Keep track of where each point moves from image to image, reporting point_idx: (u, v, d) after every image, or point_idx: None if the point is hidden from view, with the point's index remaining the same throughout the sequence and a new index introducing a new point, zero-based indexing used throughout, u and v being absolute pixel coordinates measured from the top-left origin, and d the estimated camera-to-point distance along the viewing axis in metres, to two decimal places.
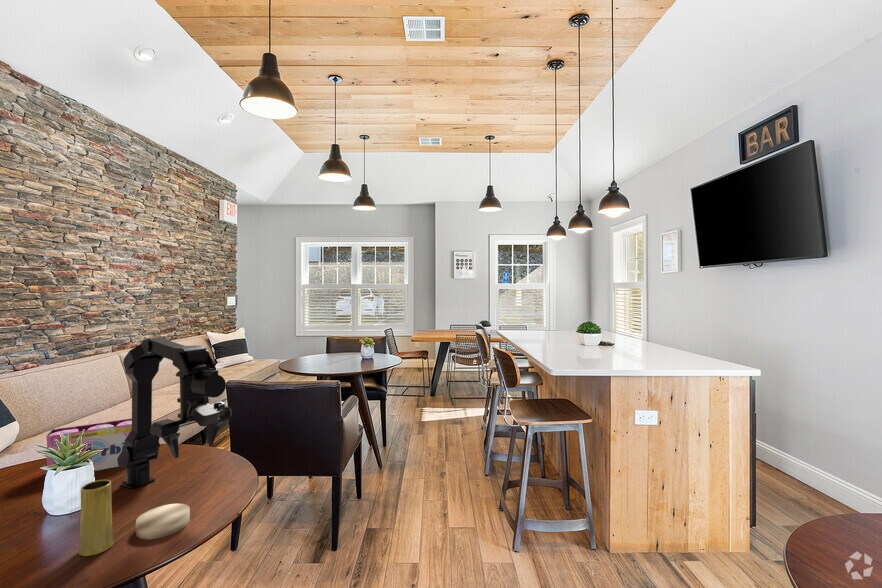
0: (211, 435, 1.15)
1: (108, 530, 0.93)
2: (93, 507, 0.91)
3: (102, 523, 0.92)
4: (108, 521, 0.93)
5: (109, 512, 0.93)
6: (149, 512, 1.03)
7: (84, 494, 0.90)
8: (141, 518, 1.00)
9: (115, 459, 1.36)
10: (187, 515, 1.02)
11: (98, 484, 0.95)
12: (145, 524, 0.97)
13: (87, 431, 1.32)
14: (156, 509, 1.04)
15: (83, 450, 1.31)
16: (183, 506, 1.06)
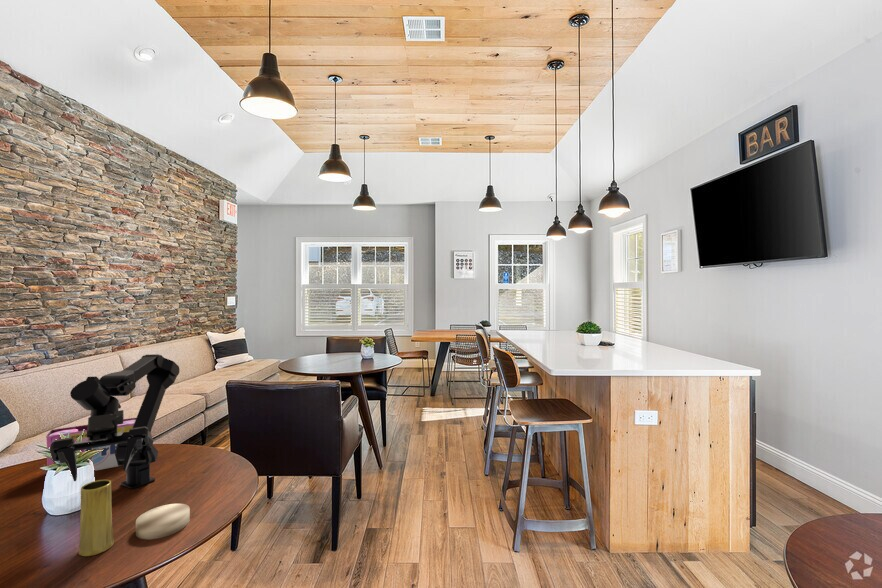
0: (124, 458, 1.03)
1: (108, 530, 0.93)
2: (93, 507, 0.91)
3: (102, 523, 0.92)
4: (108, 521, 0.93)
5: (109, 512, 0.93)
6: (149, 512, 1.03)
7: (84, 494, 0.90)
8: (141, 518, 1.00)
9: (115, 459, 1.36)
10: (187, 515, 1.02)
11: (98, 484, 0.95)
12: (145, 524, 0.97)
13: None
14: (156, 509, 1.04)
15: (83, 450, 1.32)
16: (183, 506, 1.06)
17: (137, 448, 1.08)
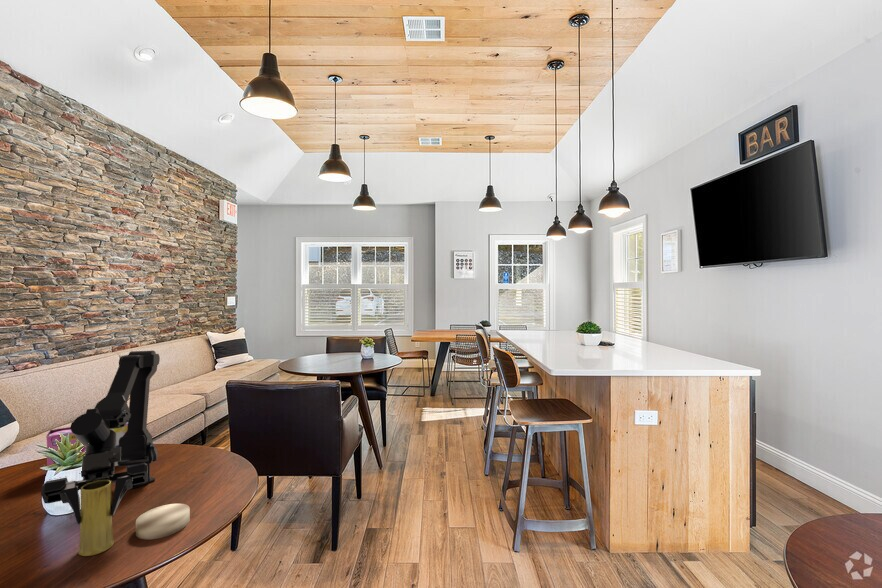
0: None
1: (108, 530, 0.93)
2: (93, 507, 0.91)
3: (102, 523, 0.92)
4: (108, 521, 0.93)
5: (109, 512, 0.93)
6: (149, 512, 1.03)
7: (84, 494, 0.90)
8: (141, 518, 1.00)
9: None
10: (187, 515, 1.02)
11: (98, 484, 0.95)
12: (145, 524, 0.97)
13: None
14: (156, 509, 1.04)
15: (83, 450, 1.32)
16: (183, 506, 1.06)
17: (127, 488, 1.00)
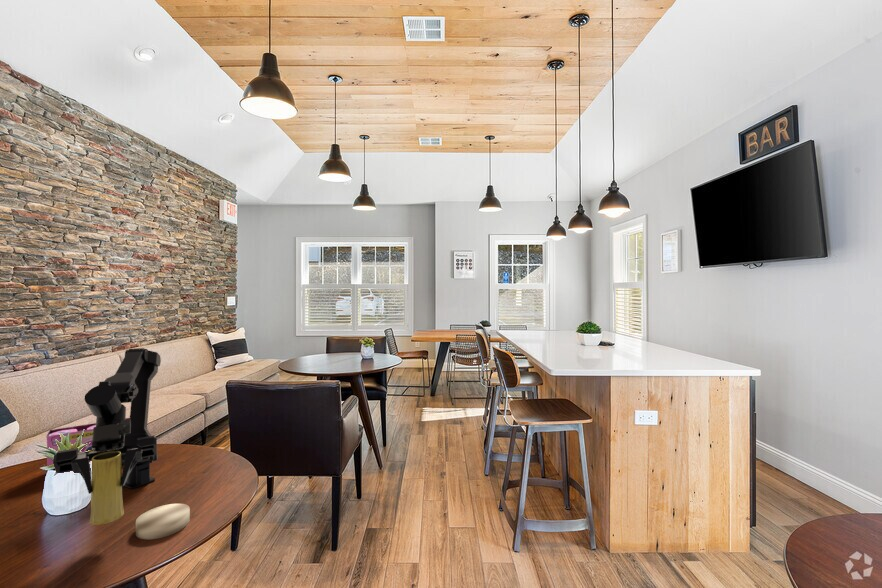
0: (123, 472, 0.96)
1: (118, 500, 0.94)
2: (104, 477, 0.92)
3: (113, 493, 0.93)
4: (118, 491, 0.94)
5: (119, 482, 0.95)
6: (149, 512, 1.03)
7: (95, 464, 0.92)
8: (141, 518, 1.00)
9: None
10: (187, 515, 1.02)
11: (108, 455, 0.96)
12: (145, 524, 0.97)
13: (87, 430, 1.33)
14: (156, 509, 1.04)
15: (84, 449, 1.32)
16: (183, 506, 1.06)
17: (136, 460, 1.01)
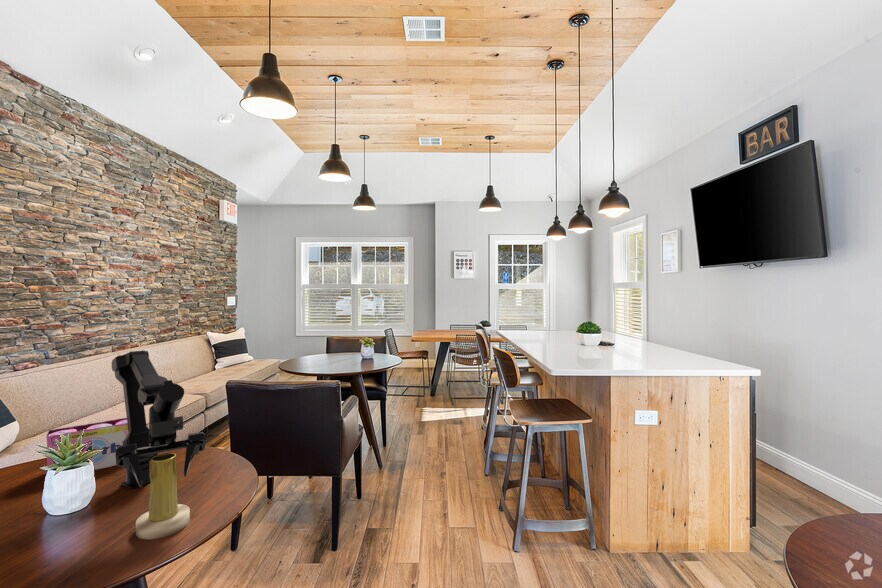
0: None
1: (174, 498, 1.02)
2: (163, 476, 1.00)
3: (170, 491, 1.01)
4: (174, 490, 1.02)
5: (175, 482, 1.02)
6: None
7: (154, 464, 1.00)
8: (141, 519, 1.00)
9: None
10: (187, 516, 1.02)
11: (164, 457, 1.04)
12: (145, 525, 0.98)
13: (87, 430, 1.33)
14: None
15: (84, 449, 1.32)
16: (183, 507, 1.06)
17: (194, 453, 1.09)
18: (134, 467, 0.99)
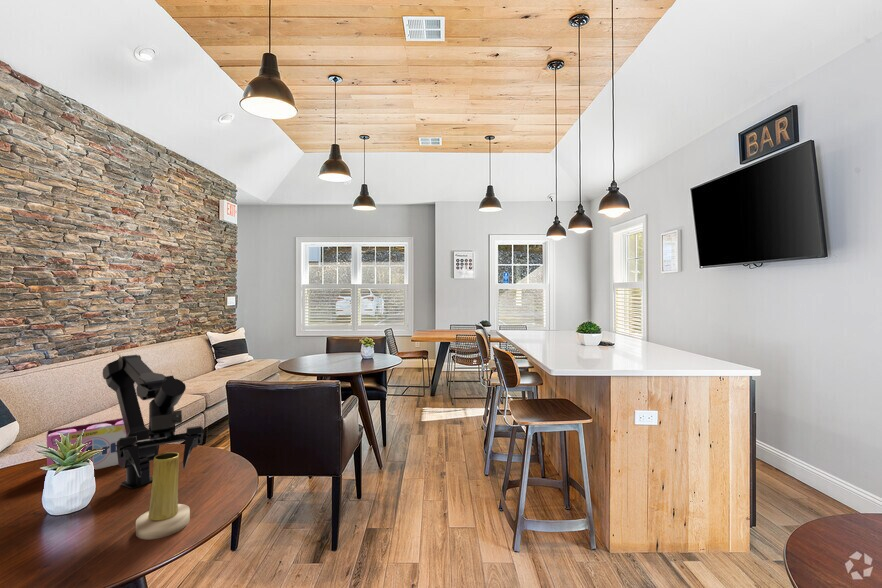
0: None
1: (175, 498, 1.02)
2: (165, 475, 1.00)
3: (171, 491, 1.01)
4: (175, 490, 1.02)
5: (176, 482, 1.02)
6: None
7: (157, 463, 1.00)
8: (141, 519, 1.00)
9: (116, 457, 1.38)
10: (187, 515, 1.02)
11: (167, 456, 1.04)
12: (145, 525, 0.97)
13: (88, 430, 1.33)
14: None
15: (84, 449, 1.32)
16: (183, 506, 1.06)
17: (193, 446, 1.14)
18: (134, 459, 1.03)
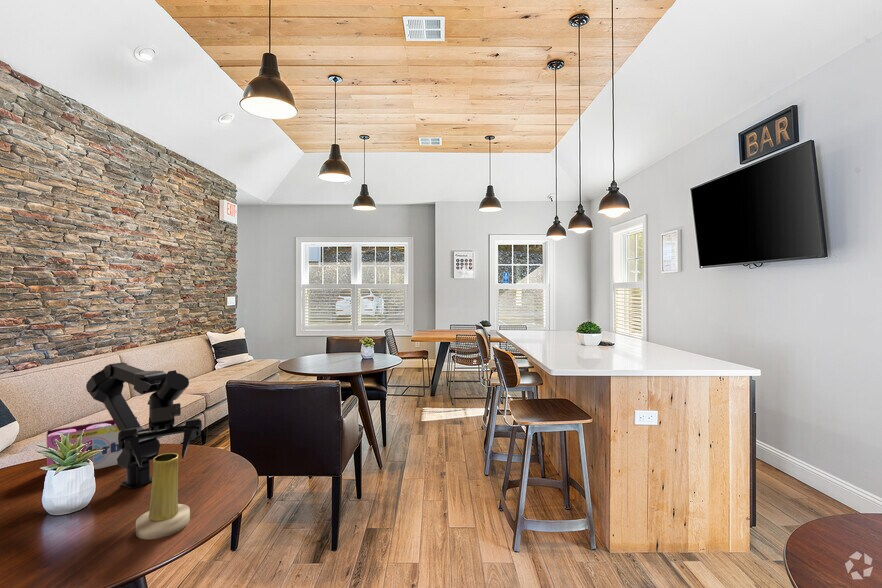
0: None
1: (175, 499, 1.01)
2: (164, 477, 0.99)
3: (170, 492, 1.00)
4: (175, 491, 1.01)
5: (176, 483, 1.02)
6: None
7: (156, 465, 0.99)
8: (141, 519, 1.00)
9: (116, 457, 1.38)
10: (187, 515, 1.02)
11: (166, 456, 1.03)
12: (145, 525, 0.98)
13: (88, 430, 1.33)
14: None
15: (84, 449, 1.32)
16: (183, 506, 1.06)
17: (191, 438, 1.18)
18: (134, 449, 1.07)
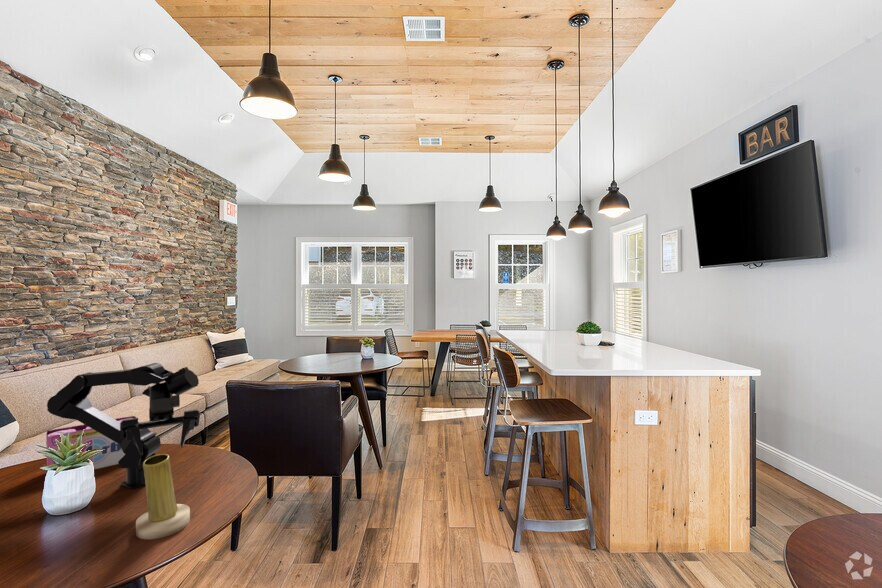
0: None
1: (171, 499, 1.01)
2: (155, 480, 0.98)
3: (165, 493, 0.99)
4: (170, 491, 1.00)
5: (170, 483, 1.01)
6: None
7: (146, 468, 0.98)
8: (141, 519, 1.00)
9: (116, 456, 1.38)
10: (187, 515, 1.02)
11: (159, 458, 1.02)
12: (145, 524, 0.98)
13: (88, 430, 1.33)
14: None
15: (84, 449, 1.32)
16: (183, 506, 1.06)
17: (190, 428, 1.23)
18: (136, 438, 1.13)
